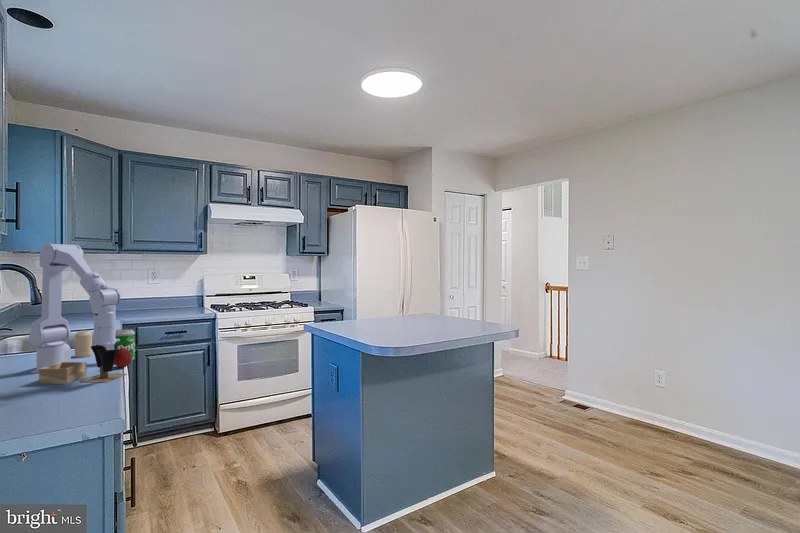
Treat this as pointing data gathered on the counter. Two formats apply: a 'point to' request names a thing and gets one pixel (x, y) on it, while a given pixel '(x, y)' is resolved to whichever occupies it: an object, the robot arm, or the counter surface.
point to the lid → (103, 377)
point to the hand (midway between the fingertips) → (104, 369)
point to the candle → (83, 344)
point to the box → (62, 372)
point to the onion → (123, 358)
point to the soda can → (125, 340)
